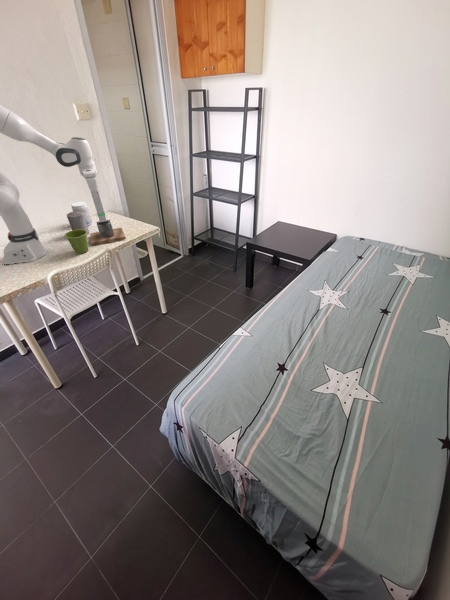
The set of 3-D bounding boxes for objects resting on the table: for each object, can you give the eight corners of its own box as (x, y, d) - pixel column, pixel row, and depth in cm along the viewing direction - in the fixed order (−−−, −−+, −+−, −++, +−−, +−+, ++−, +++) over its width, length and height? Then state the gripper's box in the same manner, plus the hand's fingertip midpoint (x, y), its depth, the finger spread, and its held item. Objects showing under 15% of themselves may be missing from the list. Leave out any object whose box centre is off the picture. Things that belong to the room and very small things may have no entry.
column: (99, 222, 171) (88, 187, 159) (98, 220, 175) (88, 185, 162) (107, 221, 173) (97, 185, 160) (106, 218, 176) (96, 184, 164)
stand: (92, 246, 171) (86, 229, 165) (90, 236, 183) (85, 220, 177) (126, 239, 178) (121, 223, 172) (122, 230, 190) (118, 215, 183)
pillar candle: (73, 233, 188) (64, 211, 179) (88, 229, 192) (81, 208, 183) (74, 238, 182) (66, 215, 172) (90, 234, 185) (83, 212, 176)
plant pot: (69, 257, 160) (61, 238, 154) (73, 248, 170) (67, 230, 163) (91, 254, 162) (84, 236, 155) (94, 246, 171) (88, 228, 165)
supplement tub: (75, 225, 200) (68, 204, 191) (87, 221, 206) (81, 200, 197) (82, 228, 195) (75, 207, 186) (95, 224, 201) (88, 203, 192)
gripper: (81, 167, 163) (88, 192, 172) (83, 175, 148) (91, 201, 157) (92, 166, 165) (99, 191, 174) (95, 173, 150) (103, 200, 159)
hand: (95, 196), depth 165 cm, fingers closed on column, 4 cm apart
